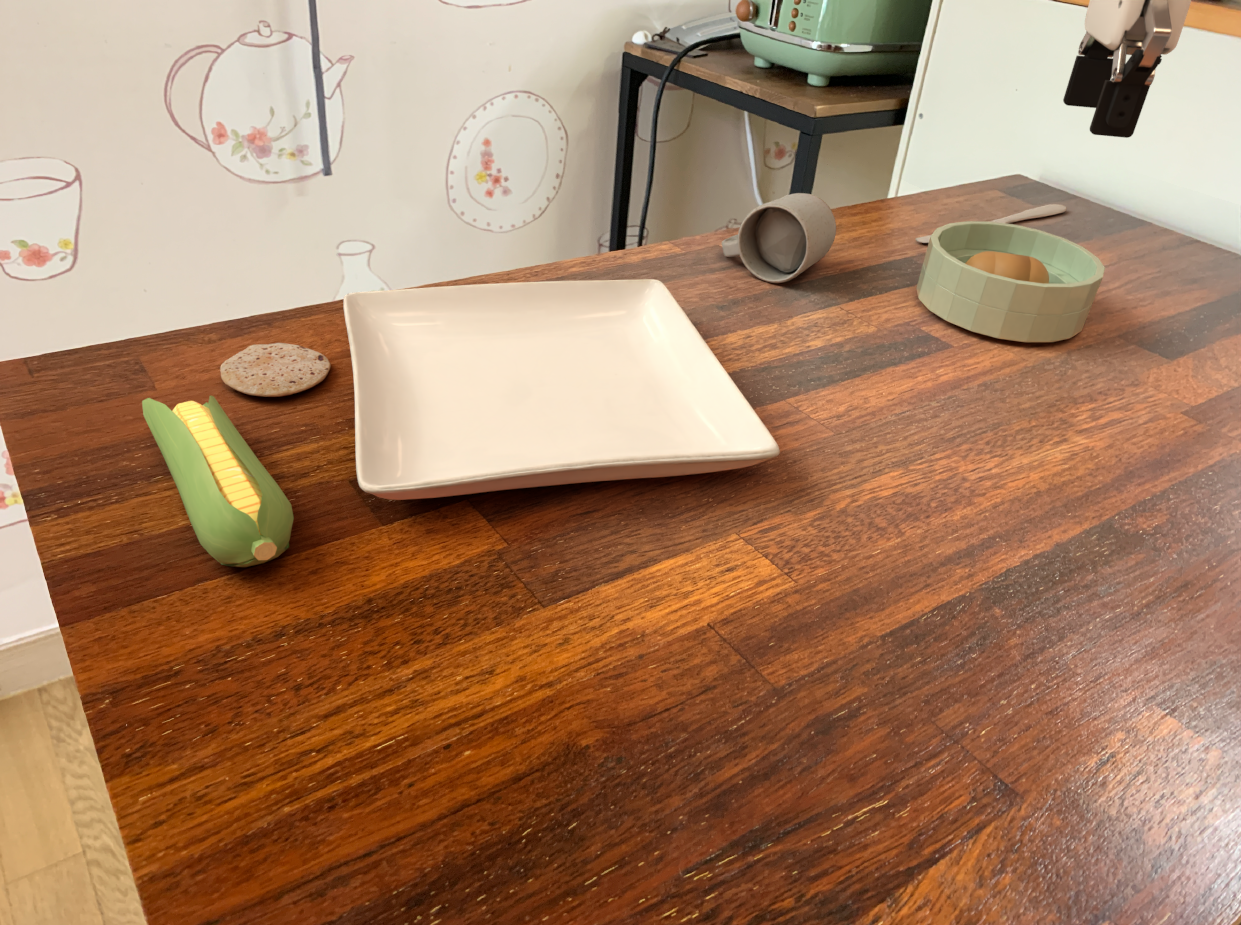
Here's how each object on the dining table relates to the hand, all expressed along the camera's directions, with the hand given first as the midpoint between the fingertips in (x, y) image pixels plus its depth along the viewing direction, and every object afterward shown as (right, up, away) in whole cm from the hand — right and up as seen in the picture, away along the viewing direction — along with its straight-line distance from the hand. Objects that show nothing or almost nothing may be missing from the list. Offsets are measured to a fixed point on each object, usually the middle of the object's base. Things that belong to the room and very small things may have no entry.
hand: (1094, 120), depth 78 cm
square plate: (-46, -25, -8) cm, 53 cm away
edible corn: (-65, -31, -20) cm, 75 cm away
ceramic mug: (-25, -9, +16) cm, 31 cm away
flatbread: (-66, -22, -8) cm, 70 cm away
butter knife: (+4, -1, +31) cm, 31 cm away
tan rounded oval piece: (-4, -14, +11) cm, 18 cm away
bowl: (-4, -14, +12) cm, 19 cm away
